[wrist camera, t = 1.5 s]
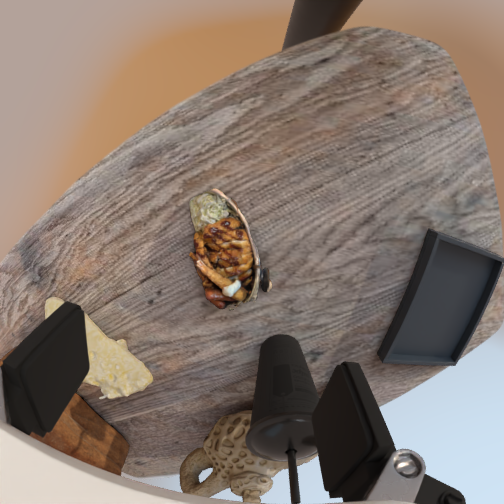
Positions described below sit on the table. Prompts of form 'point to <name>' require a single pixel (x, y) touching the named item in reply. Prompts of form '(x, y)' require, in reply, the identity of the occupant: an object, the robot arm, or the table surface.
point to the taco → (225, 251)
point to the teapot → (230, 463)
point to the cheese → (109, 360)
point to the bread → (86, 437)
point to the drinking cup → (283, 407)
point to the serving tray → (442, 302)
